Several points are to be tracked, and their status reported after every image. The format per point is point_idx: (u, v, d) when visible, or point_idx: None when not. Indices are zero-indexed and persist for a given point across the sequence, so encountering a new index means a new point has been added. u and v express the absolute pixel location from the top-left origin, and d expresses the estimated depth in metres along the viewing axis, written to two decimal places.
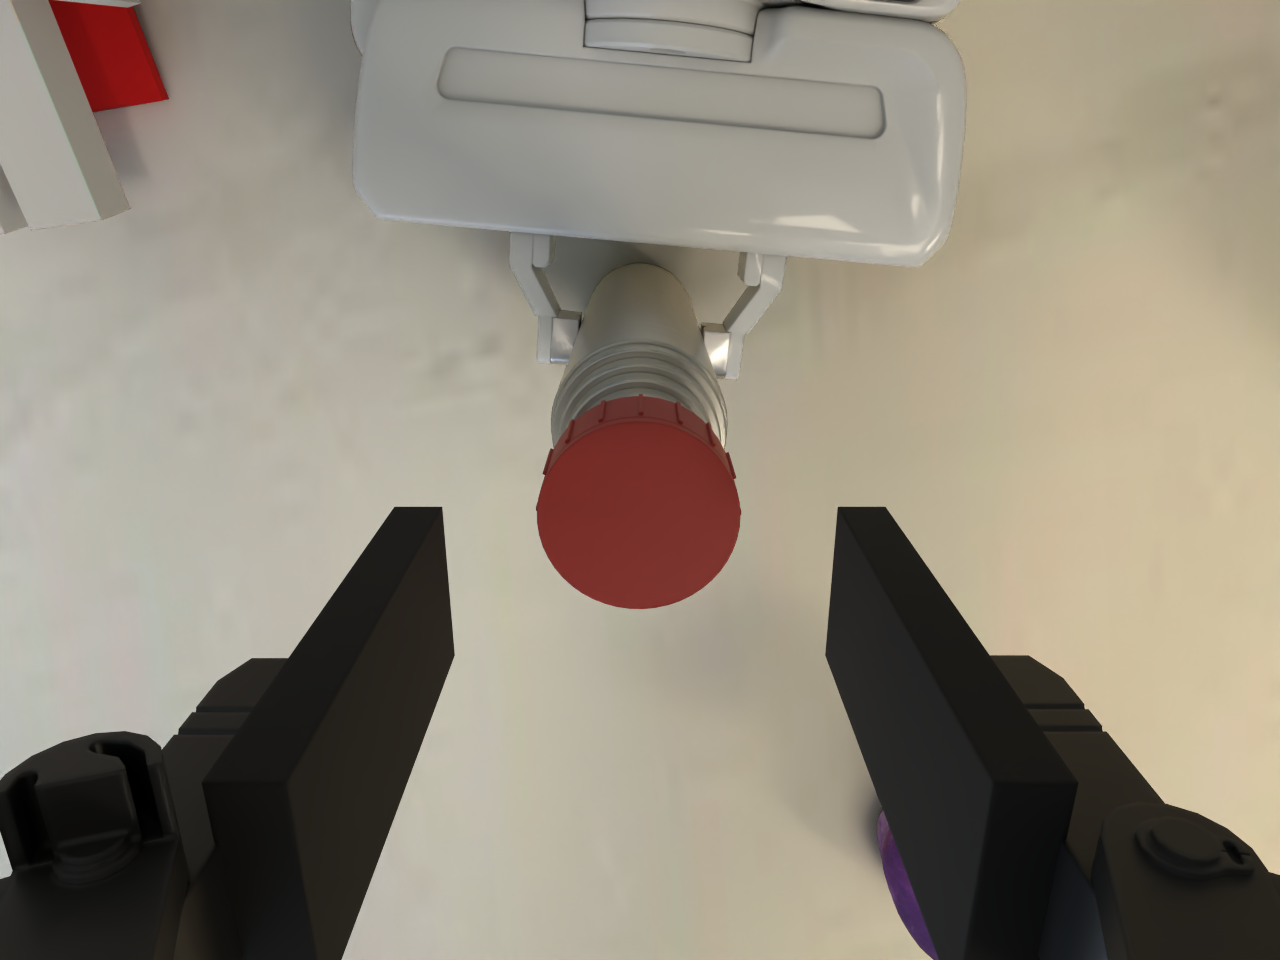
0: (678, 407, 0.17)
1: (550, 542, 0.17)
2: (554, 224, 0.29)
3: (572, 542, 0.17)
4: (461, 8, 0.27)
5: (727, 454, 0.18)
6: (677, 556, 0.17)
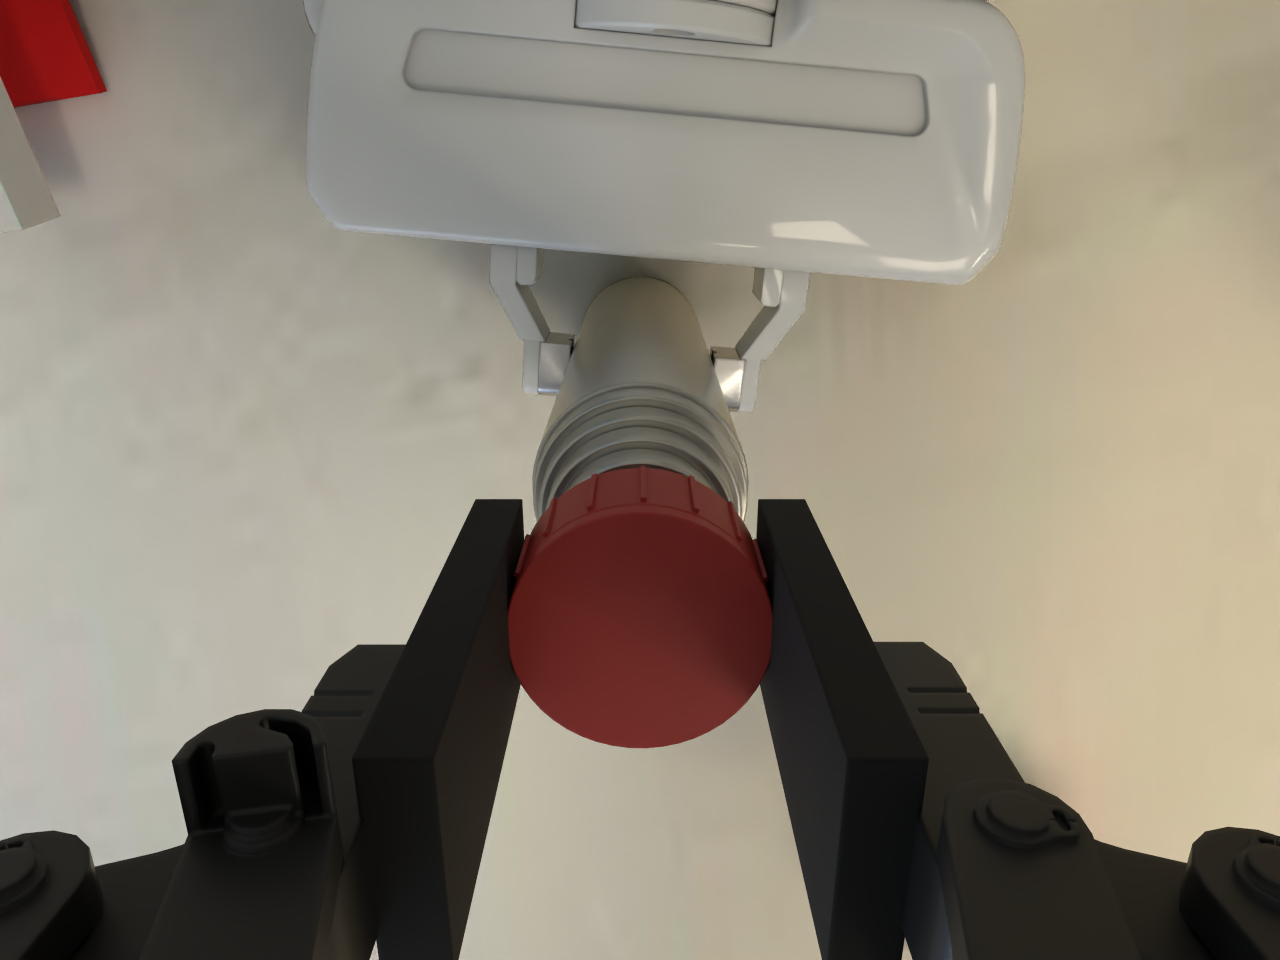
0: (691, 485, 0.13)
1: (523, 665, 0.13)
2: (541, 235, 0.25)
3: (552, 666, 0.13)
4: None
5: (755, 542, 0.14)
6: (691, 683, 0.13)
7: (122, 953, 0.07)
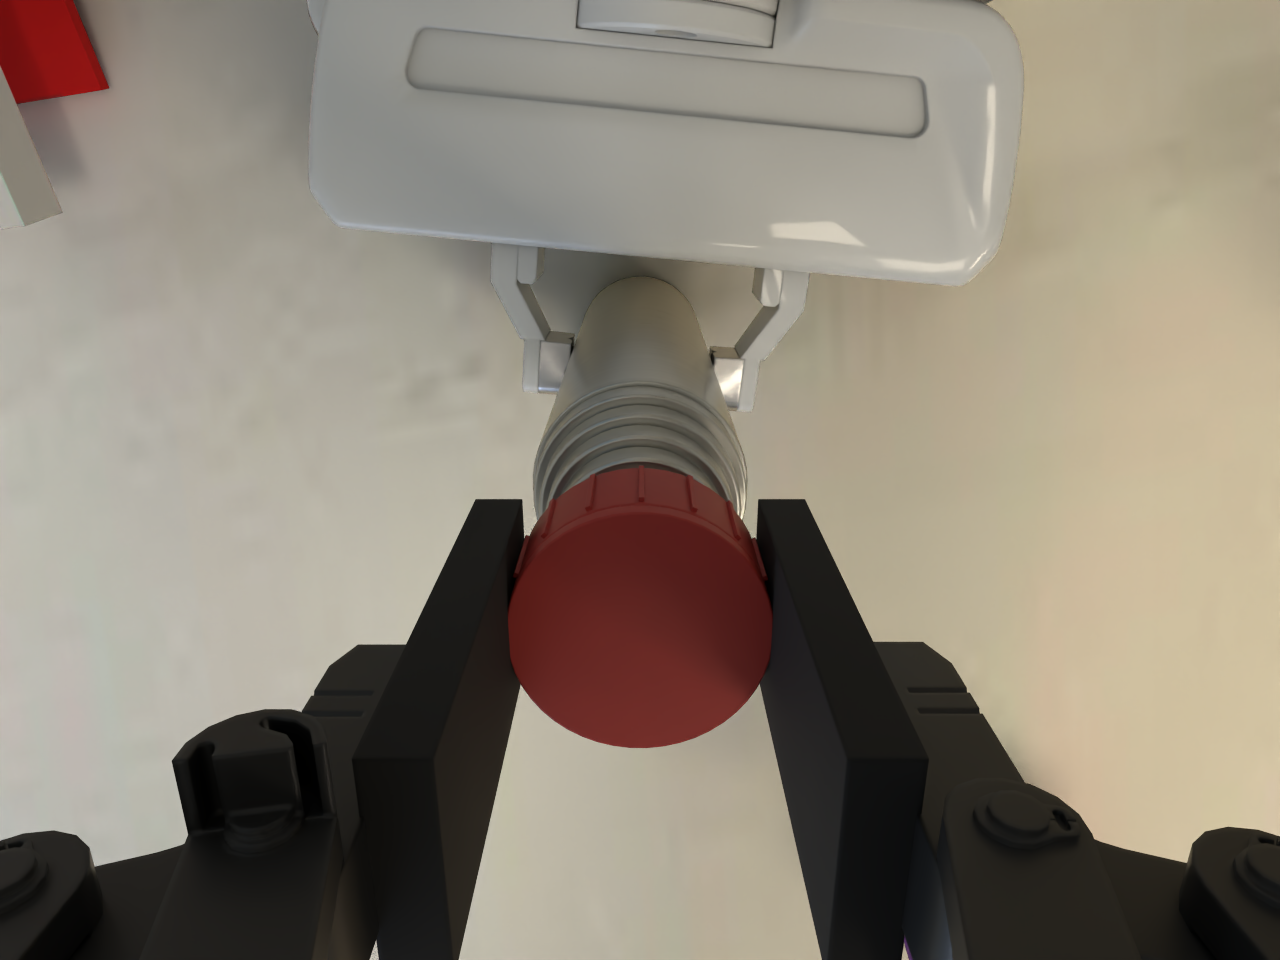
0: None
1: (714, 717, 0.13)
2: (542, 235, 0.25)
3: (703, 694, 0.13)
4: None
5: (550, 505, 0.14)
6: (670, 574, 0.12)
7: (122, 953, 0.07)
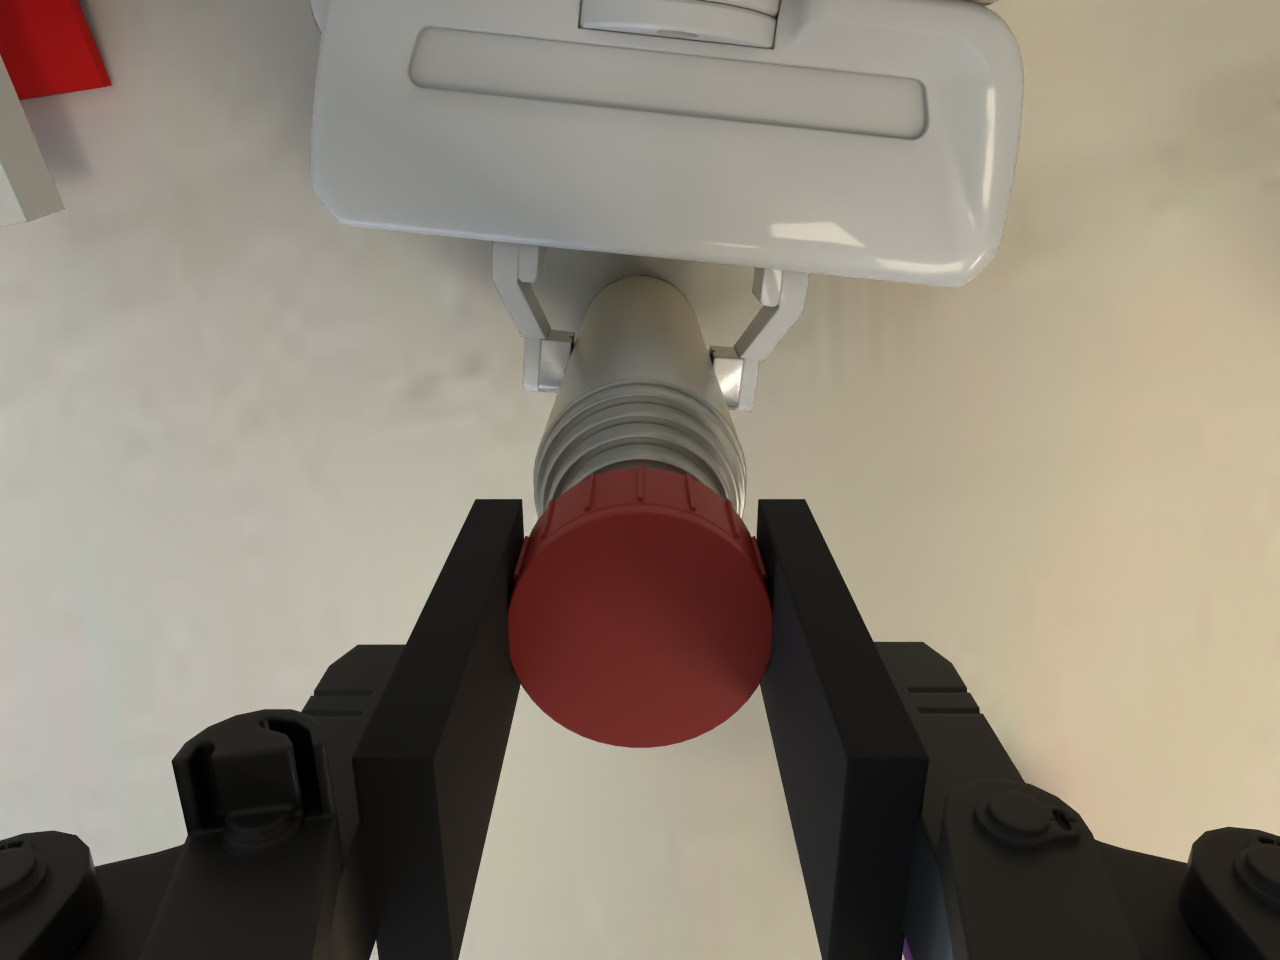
0: None
1: (699, 537, 0.12)
2: (543, 233, 0.25)
3: (678, 557, 0.12)
4: None
5: None
6: (564, 636, 0.13)
7: (122, 953, 0.07)
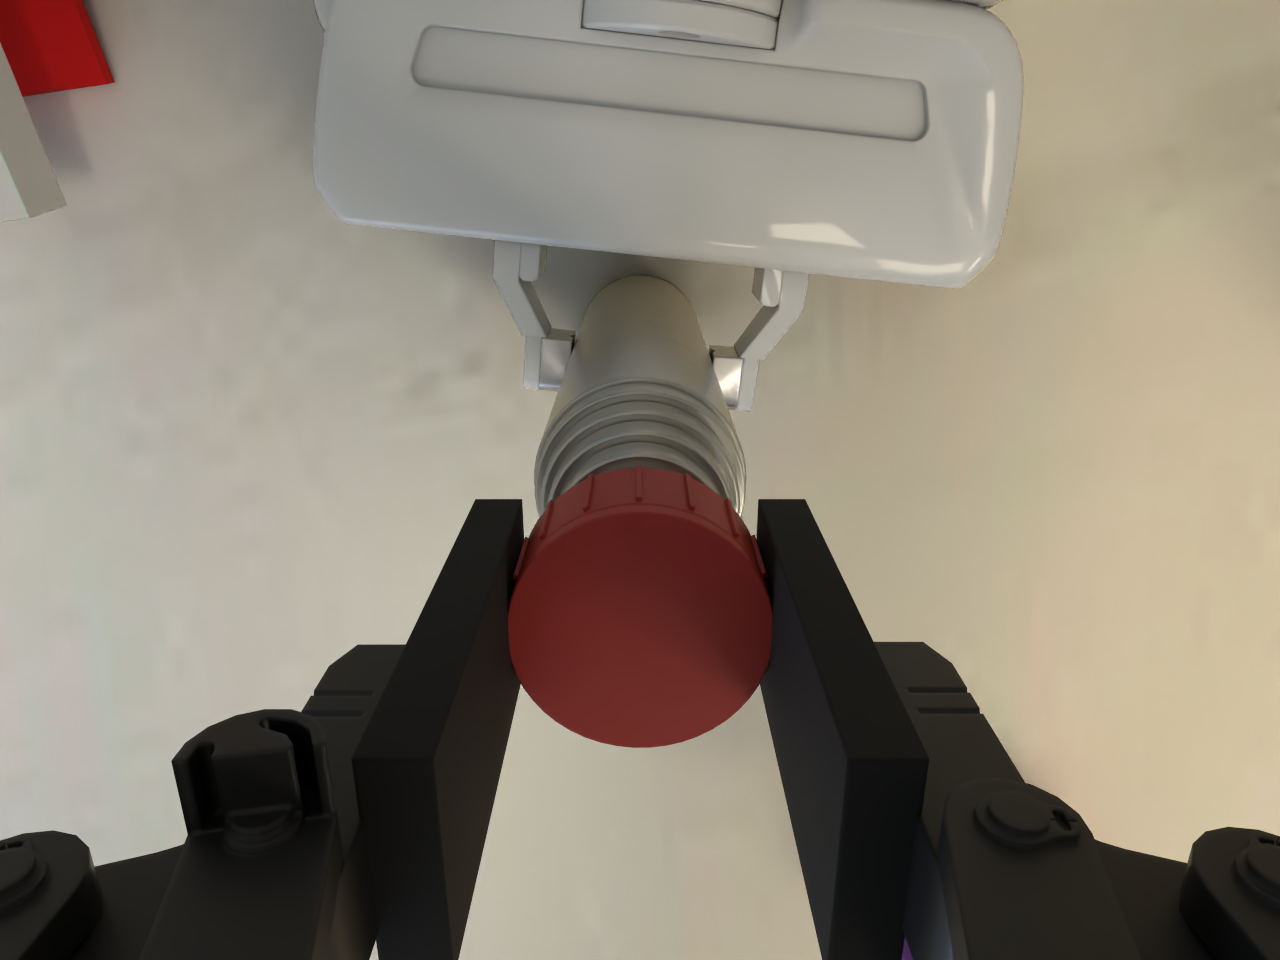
0: (730, 509, 0.13)
1: (517, 627, 0.13)
2: (545, 232, 0.25)
3: (545, 636, 0.13)
4: None
5: None
6: (669, 695, 0.13)
7: (121, 953, 0.07)
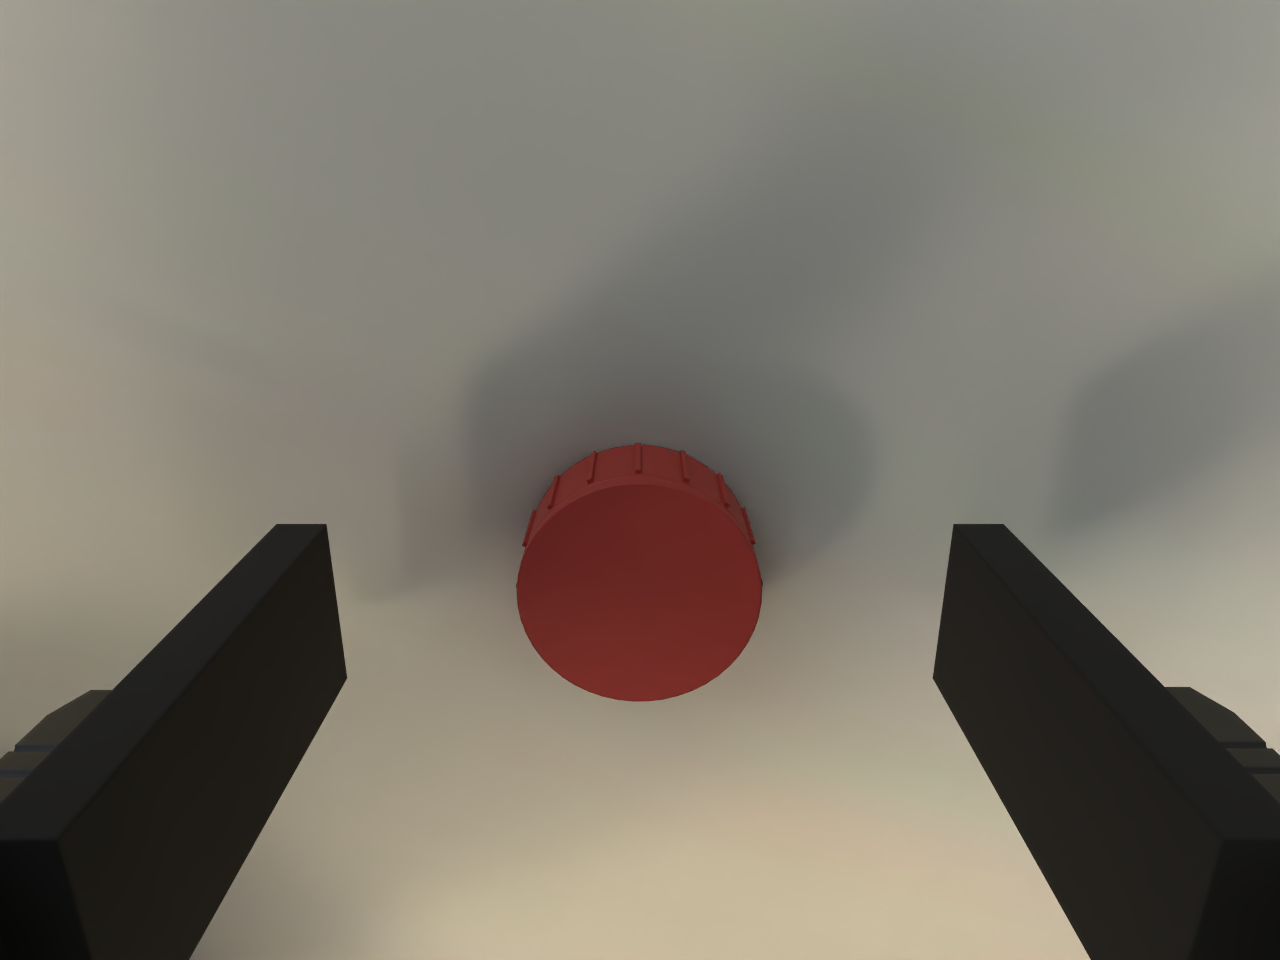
0: (721, 482, 0.15)
1: (527, 589, 0.14)
2: None
3: (553, 598, 0.14)
4: None
5: None
6: (666, 652, 0.14)
7: None
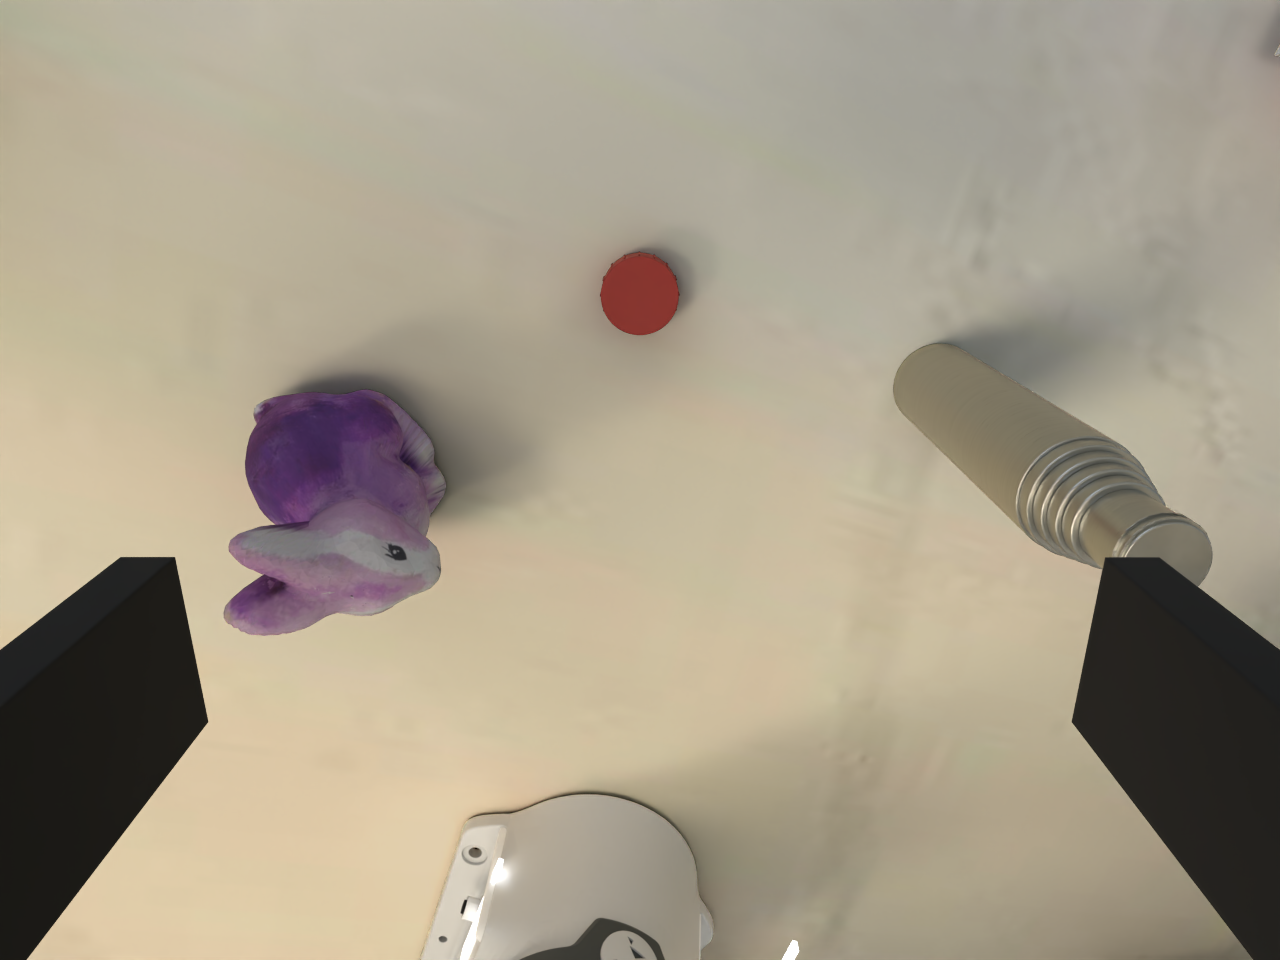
0: (666, 263, 0.45)
1: (604, 293, 0.44)
2: None
3: (612, 296, 0.44)
4: None
5: None
6: (648, 316, 0.44)
7: None
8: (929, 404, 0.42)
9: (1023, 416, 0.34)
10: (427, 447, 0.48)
